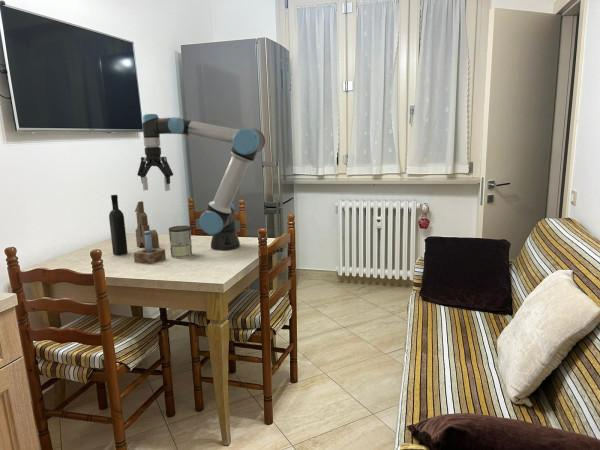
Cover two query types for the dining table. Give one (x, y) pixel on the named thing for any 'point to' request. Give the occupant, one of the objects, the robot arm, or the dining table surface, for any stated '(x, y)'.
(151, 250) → the grey rod
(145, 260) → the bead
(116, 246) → the wine bottle
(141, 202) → the wooden toy
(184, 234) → the glass jar
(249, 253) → the dining table surface
